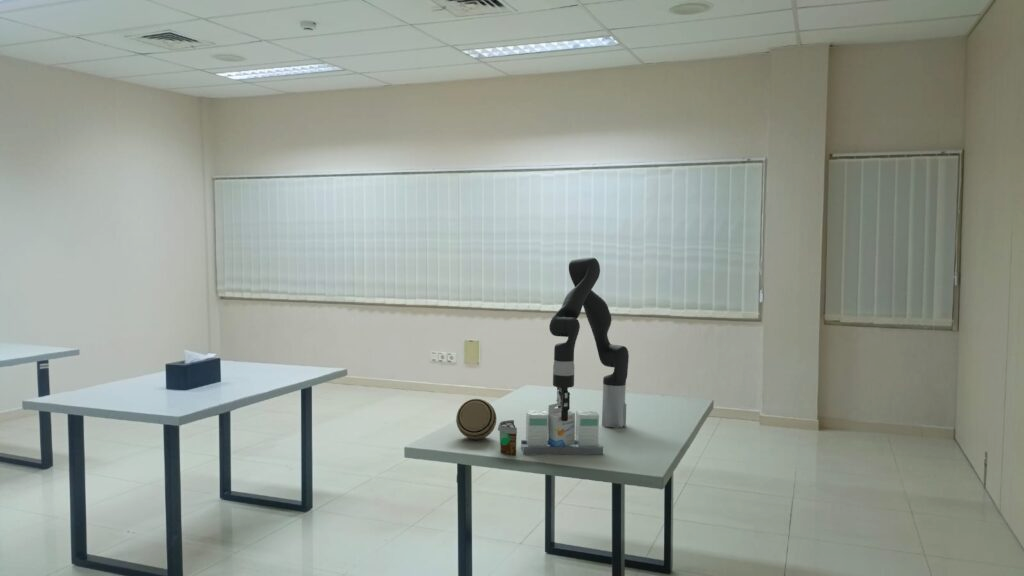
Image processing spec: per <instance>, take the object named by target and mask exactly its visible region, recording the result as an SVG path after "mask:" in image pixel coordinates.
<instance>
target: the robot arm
mask: <svg viewBox="0 0 1024 576" xmlns="http://www.w3.org/2000/svg"><path fill="white" fill-rule="evenodd" d="M568 272H569V277H570V279H571V281H572V283H573V286H574V287H573V288H571V290H570V291H569V292H568V293H567V294H566V295H565V297H564V300H563V302H562V305H561V307H560V309H558V311H556V312H555V314H554V315H553V316H552V317H551V320H550V323H549V332H550V334H551V335H552V336H554V337H563V338H567V340H566V341H565V342H559V343H556V344H554V349H553V351H554V353H553V355H554V356H553V357H554V358H553V366H552V367H553V368H552V386H553V387H554V388H556V404H557V403H559V404H560V405H561V406H557V408H561V420H562V421H568V410H569V411H570V406H571V405H570V403H571V402H570V401H571V399H570V397H571V393H570V392H569V390H568V389H569V388H573V387H574V386H575V348H576V347H575V346H576V342H577V338H578V335H579V333H580V328H581V325H580V324H581V323H580V321H579V320H578V318H579V316H580V314H581V312H582V309H583V310H584V313H585V316H586V319H587V322H588V325H589V326H590V329H591V332H592V336H593V338H594V341H595V346H596V349H597V354H598V359H599V361H600V363H601V364H602V365H603V366H605V367H609V368H613V372H612V373H611V374H608V375H605V376H603V378H602V379H603V380H602V410H601V411H602V412H601V425H602V426H603V427H605V428H610V427H614V428H613V429H616V428H615V427H621V428H624V427H623V426H627V403H626V391H627V390H626V389H627V388H626V387H627V386H626V385H627V384H626V383H627V379H628V372H629V371H628V368H629V362H630V360H629V357H630V356H629V350H628V348H627V347H626V345H625V346H624V345H618V344H611V342H610V340H609V337H608V332H609V330H610V328H611V325H612V314H611V312H610V309H609V306H608V304H607V303H606V301H605V300H604V299H603V298H602V297H601V296H599V295H598V294H597V293H596V292H594V291H593V288H594V286H595V284H596V283H597V281H598V280H599V277H600V275H601V274H600V273H601V266H600V263H599V260H597V258H595V257H584V258H577V259H572V260H570V261H569V264H568ZM564 405H567V406H564Z"/></svg>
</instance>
